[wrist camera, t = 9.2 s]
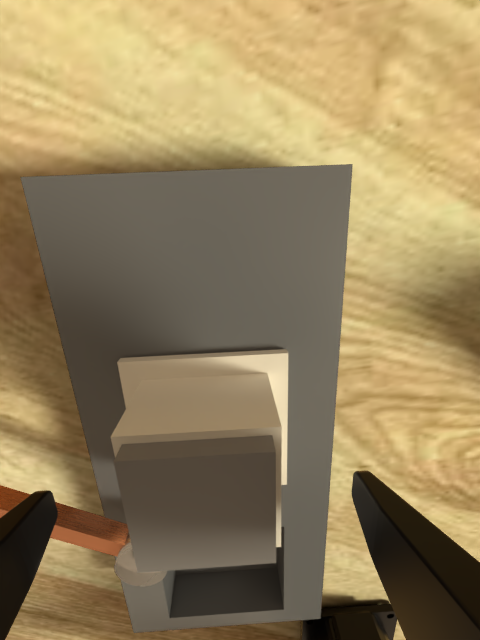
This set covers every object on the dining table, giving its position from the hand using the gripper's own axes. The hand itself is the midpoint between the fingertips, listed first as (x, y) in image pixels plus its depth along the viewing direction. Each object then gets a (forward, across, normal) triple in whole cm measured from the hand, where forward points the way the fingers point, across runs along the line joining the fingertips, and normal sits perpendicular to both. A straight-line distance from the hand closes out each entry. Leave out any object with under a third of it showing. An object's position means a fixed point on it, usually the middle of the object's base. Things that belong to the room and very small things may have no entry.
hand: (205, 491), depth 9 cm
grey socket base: (+6, 0, +2) cm, 6 cm away
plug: (+5, 0, 0) cm, 5 cm away
